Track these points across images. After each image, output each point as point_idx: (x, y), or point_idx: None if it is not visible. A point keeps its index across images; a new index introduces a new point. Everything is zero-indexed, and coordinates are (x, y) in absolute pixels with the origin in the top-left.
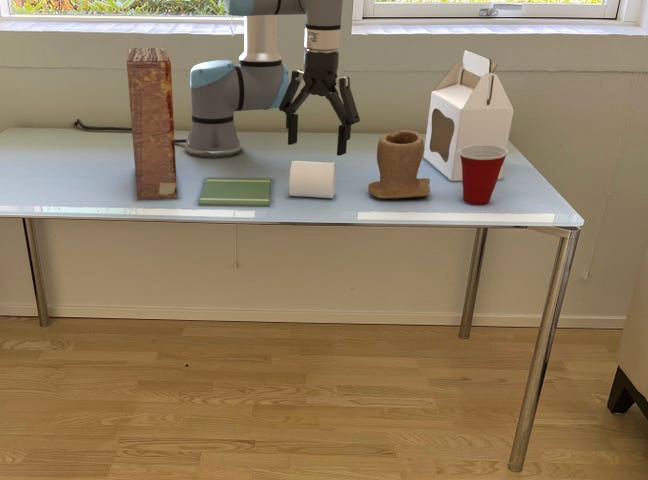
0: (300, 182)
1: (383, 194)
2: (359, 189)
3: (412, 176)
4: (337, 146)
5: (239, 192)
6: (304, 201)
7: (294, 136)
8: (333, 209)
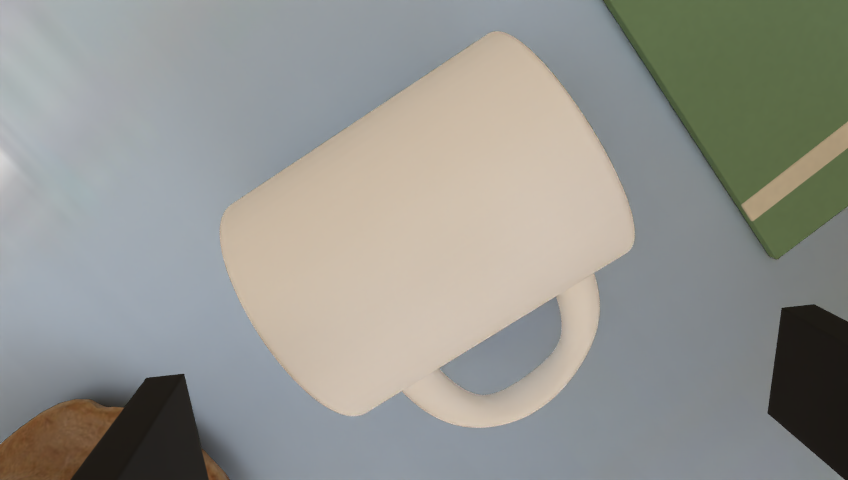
0: (424, 78)
1: (36, 423)
2: (302, 462)
3: None
4: (143, 434)
5: None
6: (386, 92)
7: (832, 413)
8: (153, 97)
